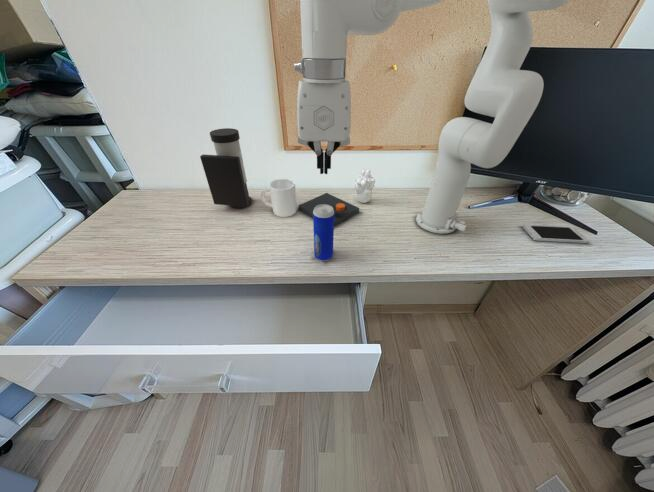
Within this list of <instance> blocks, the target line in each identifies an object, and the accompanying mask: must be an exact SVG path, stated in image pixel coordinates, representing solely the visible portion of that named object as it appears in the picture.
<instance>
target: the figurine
mask: <svg viewBox="0 0 654 492" xmlns="http://www.w3.org/2000/svg"><path fill="white" fill-rule="evenodd" d="M355 178H356V179H355V182H356V183H355V184H354V185H355V199H356V201H358V202H359V203H361V204H366V203H368V202H370V201H371V199H372V198H373V189H374V188H375V184H376V179H375V178H374V177H373V176H372V174H371V170H370V169H367V170H366V169H364V168H363V169H362V170H361V172H360V173H358V174H357V176H356V177H355Z"/></svg>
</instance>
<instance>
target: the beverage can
mask: <svg viewBox="0 0 654 492" xmlns="http://www.w3.org/2000/svg"><path fill="white" fill-rule="evenodd" d="M312 223H313V224H312V225H313V255H314V257H315V259H316V260H318V261H320V262H327V261H330V260H331V259H332V258H333V256H334V234H335V233H334V232H335V231H334V230H335V226H334V210H333V207H332V206H330V205H327V204H321V205H317V206H316V207H315V208H314V211H313V218H312Z"/></svg>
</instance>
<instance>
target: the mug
mask: <svg viewBox="0 0 654 492" xmlns="http://www.w3.org/2000/svg"><path fill="white" fill-rule="evenodd" d="M267 192H270V200H271V202H270V201H268V200H267V198H266V193H267ZM260 199H261V202H263V204H264V205H266V206H267V207H270V208H272V212H273V214H274V215H275V216H277V217H280V218H288V217H293V216H294V215H295V214H296V213H297V210H298V204H297V203H298V202H297V192H296V183H295V181H294V180H292V179H289V178H278V179H274V180H272V181H271V182H270V183H269V186H265V187H264V188H263V189H262V190H261V192H260Z"/></svg>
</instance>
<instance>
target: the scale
mask: <svg viewBox="0 0 654 492" xmlns="http://www.w3.org/2000/svg"><path fill="white" fill-rule="evenodd" d="M338 203H343V204H345V210H344V211H337V210H336V204H338ZM321 204H327V205H330V206H332V207H333V210H334V227H336V226H338V225H340V224H342V223H343V222H345V221H347V220H348V219H350V218H352V217H354V216H355V215H357V214H359V213H360V207H358V206H356V205H354V204H352V203H349V202H347V201H345V200H343V199H341V198H339V197H336V196H334V195H332V194H330V193H329V192H325V193H323V194H321V195H319V196H316V197H313V198H311V199H309V200H307V201H305V202H302V203H300V204H297V210H298V211H299V212H301V213H303V214H305V215H306V216H308V217H309V218H311V219H313V211H314V208H315V207H316V206H317V205H321Z"/></svg>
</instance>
